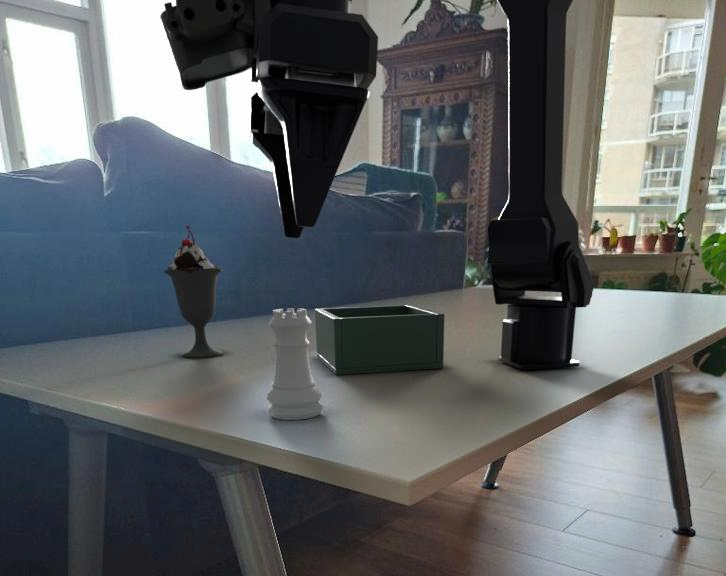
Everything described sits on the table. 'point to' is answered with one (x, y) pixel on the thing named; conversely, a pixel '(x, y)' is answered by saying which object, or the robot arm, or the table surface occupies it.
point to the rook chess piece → (292, 369)
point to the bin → (379, 339)
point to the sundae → (195, 292)
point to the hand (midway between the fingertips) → (298, 232)
